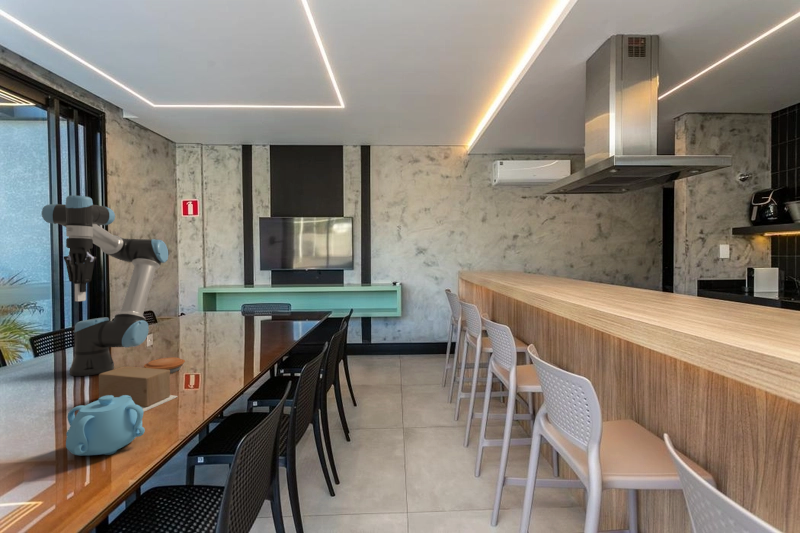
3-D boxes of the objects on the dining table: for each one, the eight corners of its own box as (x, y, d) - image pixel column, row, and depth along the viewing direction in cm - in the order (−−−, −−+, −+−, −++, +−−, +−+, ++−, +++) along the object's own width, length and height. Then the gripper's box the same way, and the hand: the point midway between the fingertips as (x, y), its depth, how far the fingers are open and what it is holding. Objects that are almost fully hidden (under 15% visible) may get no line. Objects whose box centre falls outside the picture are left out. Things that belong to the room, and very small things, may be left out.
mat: (136, 391, 139) (136, 390, 139) (177, 397, 135) (177, 395, 135) (94, 407, 125) (94, 406, 125) (139, 413, 120) (139, 412, 120)
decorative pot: (147, 448, 99) (147, 398, 99) (66, 471, 88) (66, 414, 88) (138, 427, 111) (138, 382, 111) (66, 445, 100) (66, 395, 100)
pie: (192, 367, 171) (192, 356, 171) (166, 377, 156) (166, 366, 156) (163, 365, 174) (163, 354, 174) (134, 375, 159) (134, 363, 159)
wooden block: (98, 402, 128) (146, 407, 124) (97, 373, 128) (146, 378, 124) (124, 392, 138) (170, 396, 134) (124, 365, 138) (170, 369, 134)
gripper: (55, 237, 135) (55, 301, 136) (82, 237, 132) (82, 302, 133) (77, 238, 143) (78, 299, 143) (103, 238, 139) (104, 300, 140)
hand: (80, 300), depth 138 cm, fingers closed
